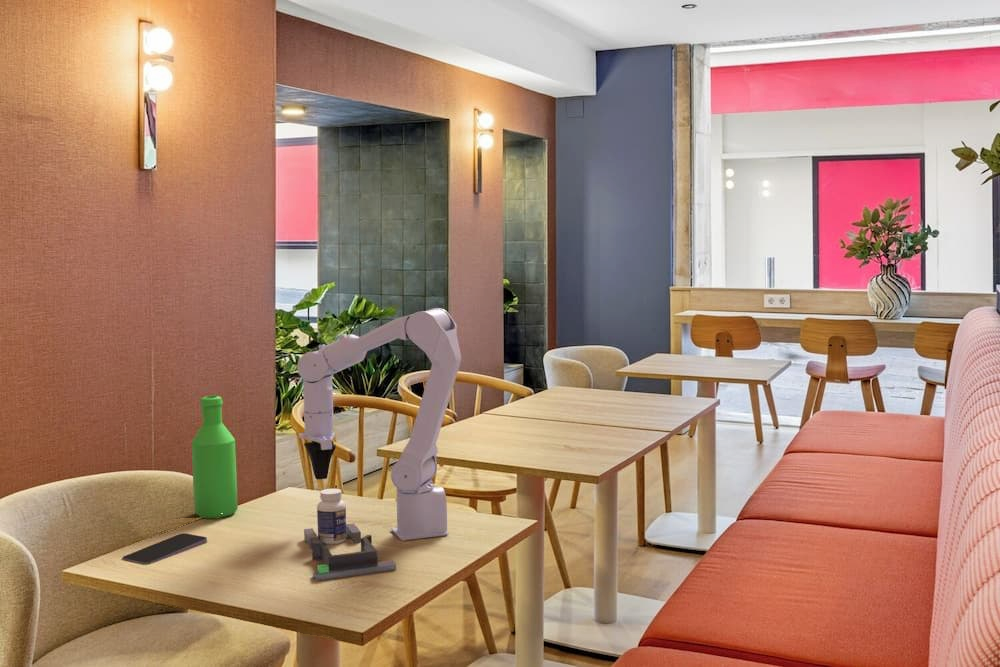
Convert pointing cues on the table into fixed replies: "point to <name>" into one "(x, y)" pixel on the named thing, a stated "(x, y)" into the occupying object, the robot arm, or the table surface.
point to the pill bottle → (331, 517)
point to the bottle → (214, 464)
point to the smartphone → (166, 548)
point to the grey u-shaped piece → (351, 532)
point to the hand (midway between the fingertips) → (320, 478)
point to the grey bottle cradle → (348, 561)
